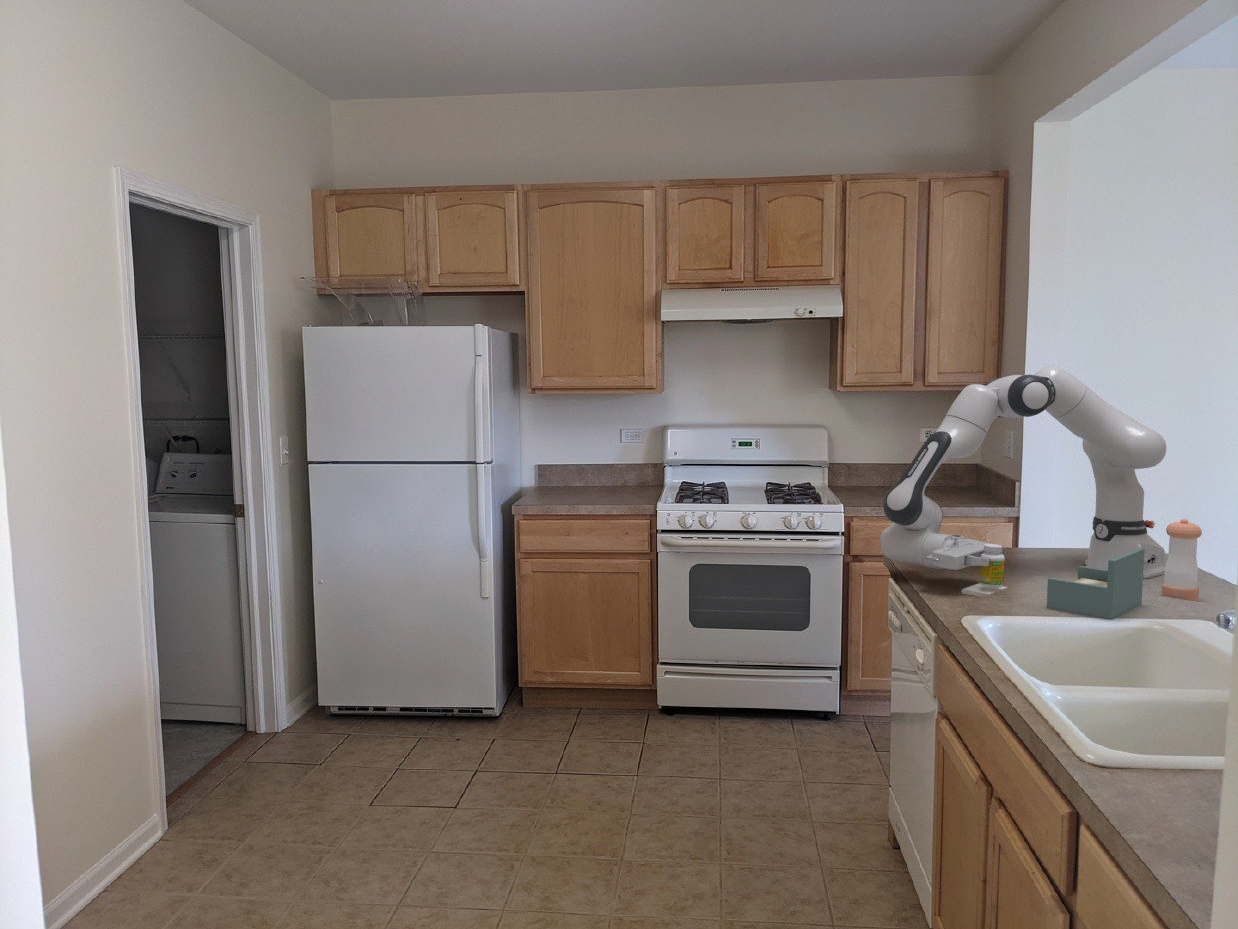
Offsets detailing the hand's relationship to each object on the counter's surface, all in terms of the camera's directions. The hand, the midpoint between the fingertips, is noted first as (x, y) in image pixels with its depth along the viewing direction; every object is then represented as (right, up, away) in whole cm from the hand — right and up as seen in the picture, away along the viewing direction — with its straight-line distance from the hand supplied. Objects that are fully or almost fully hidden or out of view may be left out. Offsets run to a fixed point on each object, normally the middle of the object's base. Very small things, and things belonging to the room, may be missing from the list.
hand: (996, 560), depth 212 cm
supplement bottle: (-1, -6, +1) cm, 6 cm away
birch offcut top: (+15, -5, -16) cm, 22 cm away
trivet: (-1, -8, +1) cm, 8 cm away
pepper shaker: (+40, -9, -6) cm, 42 cm away
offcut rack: (+15, -10, -15) cm, 23 cm away
